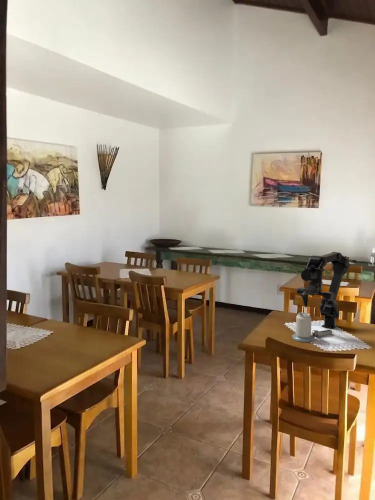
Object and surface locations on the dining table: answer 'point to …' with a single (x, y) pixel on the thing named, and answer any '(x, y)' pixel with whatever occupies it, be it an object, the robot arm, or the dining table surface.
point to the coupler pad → (302, 338)
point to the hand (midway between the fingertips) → (314, 309)
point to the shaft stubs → (321, 333)
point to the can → (303, 325)
